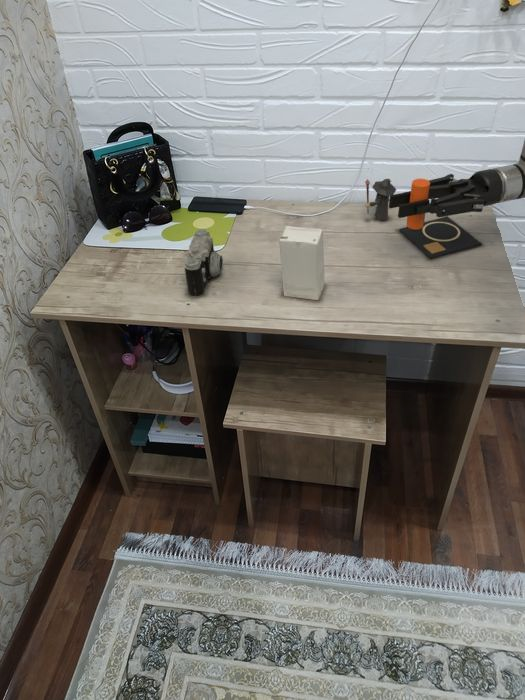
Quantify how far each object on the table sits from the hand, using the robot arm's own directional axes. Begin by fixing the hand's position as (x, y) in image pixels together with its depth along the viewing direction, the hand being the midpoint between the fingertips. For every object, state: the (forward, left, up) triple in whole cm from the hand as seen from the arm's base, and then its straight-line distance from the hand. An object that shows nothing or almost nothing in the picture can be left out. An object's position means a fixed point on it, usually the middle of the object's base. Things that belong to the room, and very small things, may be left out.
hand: (394, 206), depth 119 cm
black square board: (+7, -19, -17) cm, 26 cm away
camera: (+15, +38, -17) cm, 45 cm away
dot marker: (0, -5, -7) cm, 9 cm away
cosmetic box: (+1, +20, -17) cm, 27 cm away
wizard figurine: (+21, -10, -17) cm, 29 cm away
